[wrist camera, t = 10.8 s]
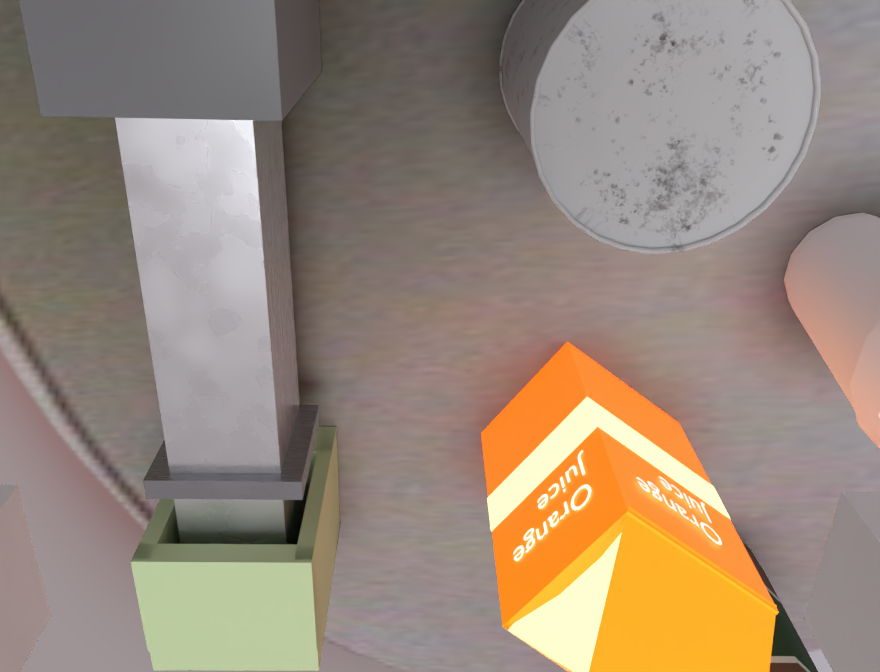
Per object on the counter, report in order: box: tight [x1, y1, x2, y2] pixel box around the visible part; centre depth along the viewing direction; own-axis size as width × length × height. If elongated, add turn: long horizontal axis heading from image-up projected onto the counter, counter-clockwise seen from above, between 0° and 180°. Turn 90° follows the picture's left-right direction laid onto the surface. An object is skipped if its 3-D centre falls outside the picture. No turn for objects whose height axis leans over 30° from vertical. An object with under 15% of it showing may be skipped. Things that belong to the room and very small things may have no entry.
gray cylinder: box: [499, 0, 821, 254], centre depth 32 cm, size 10×10×12 cm
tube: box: [115, 118, 320, 545], centre depth 37 cm, size 25×7×7 cm, turn 179°
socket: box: [131, 427, 340, 671], centre depth 42 cm, size 7×8×11 cm
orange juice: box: [481, 342, 779, 672], centre depth 37 cm, size 8×9×20 cm
